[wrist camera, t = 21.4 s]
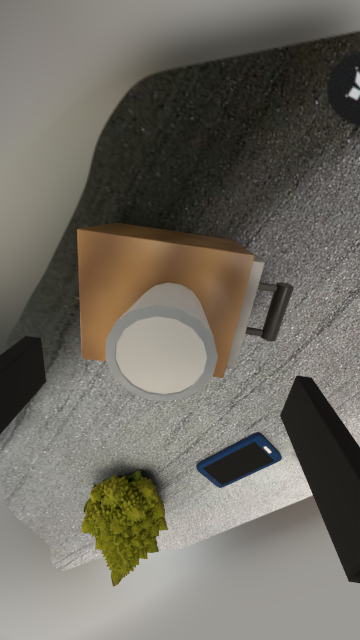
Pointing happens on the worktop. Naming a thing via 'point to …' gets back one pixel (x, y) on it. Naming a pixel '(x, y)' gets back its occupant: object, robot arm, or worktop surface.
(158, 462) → the worktop surface
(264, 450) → the cell phone
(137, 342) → the white cup
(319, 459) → the robot arm
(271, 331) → the drawer
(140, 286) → the cabinet
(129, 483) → the vegetable
